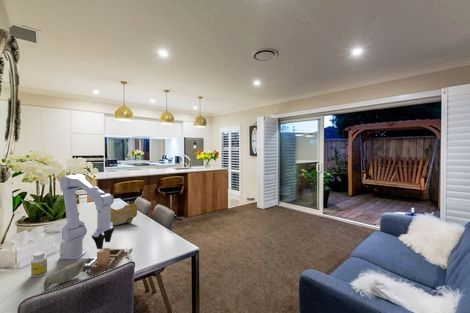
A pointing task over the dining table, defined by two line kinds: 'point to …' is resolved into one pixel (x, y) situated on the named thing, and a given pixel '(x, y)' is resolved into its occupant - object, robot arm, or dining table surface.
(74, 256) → the robot arm
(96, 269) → the rack
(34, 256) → the supplement bottle
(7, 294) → the dining table surface
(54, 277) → the decorative bird
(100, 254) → the peg
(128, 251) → the pliers
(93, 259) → the socket
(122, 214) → the rough brown rock
